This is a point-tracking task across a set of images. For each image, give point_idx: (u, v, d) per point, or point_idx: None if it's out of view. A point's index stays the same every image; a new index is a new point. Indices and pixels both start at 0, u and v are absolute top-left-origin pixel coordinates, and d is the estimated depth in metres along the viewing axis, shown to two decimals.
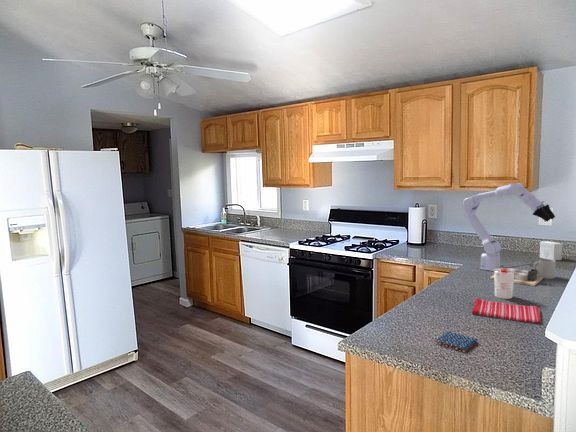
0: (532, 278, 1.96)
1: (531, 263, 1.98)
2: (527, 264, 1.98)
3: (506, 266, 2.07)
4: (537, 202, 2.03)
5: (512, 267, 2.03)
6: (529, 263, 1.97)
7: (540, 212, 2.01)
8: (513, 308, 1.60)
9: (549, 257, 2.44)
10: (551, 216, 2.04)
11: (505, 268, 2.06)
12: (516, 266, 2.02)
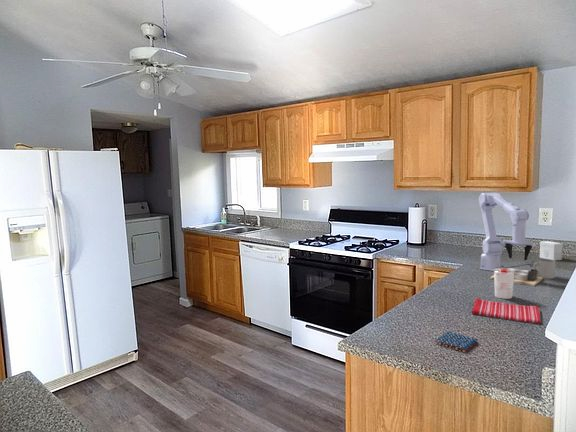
0: (532, 278, 1.96)
1: (531, 263, 1.98)
2: (527, 264, 1.98)
3: (506, 266, 2.07)
4: (513, 239, 2.03)
5: (512, 267, 2.03)
6: (529, 263, 1.97)
7: None
8: (513, 308, 1.60)
9: (549, 257, 2.44)
10: None
11: (505, 268, 2.06)
12: (516, 266, 2.02)
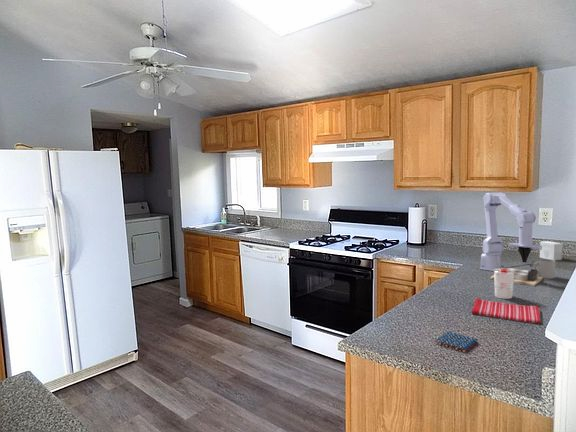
0: (532, 278, 1.96)
1: (531, 263, 1.98)
2: (527, 264, 1.98)
3: (506, 266, 2.07)
4: (519, 242, 1.99)
5: (512, 267, 2.03)
6: (529, 263, 1.97)
7: None
8: (513, 308, 1.60)
9: (549, 257, 2.44)
10: None
11: (505, 268, 2.06)
12: (516, 266, 2.02)
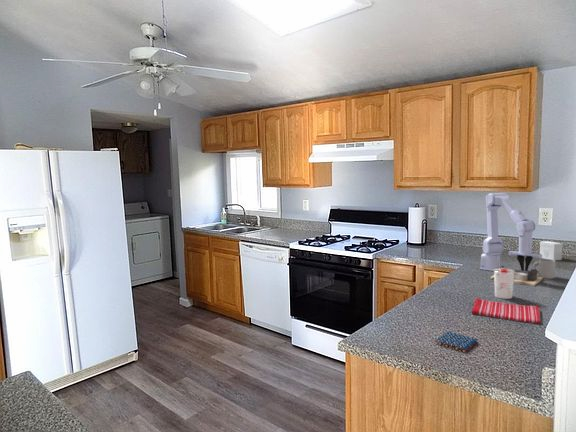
0: (532, 278, 1.96)
1: None
2: None
3: (506, 268, 2.07)
4: (519, 251, 1.99)
5: None
6: None
7: None
8: (513, 308, 1.60)
9: (549, 257, 2.44)
10: None
11: None
12: (517, 271, 2.02)
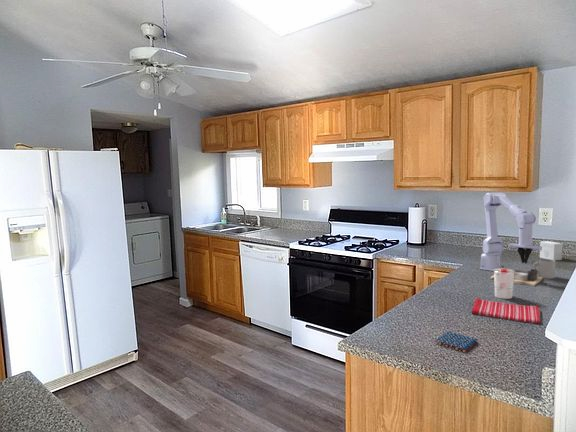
0: (532, 278, 1.96)
1: None
2: None
3: (506, 268, 2.07)
4: (519, 243, 1.99)
5: None
6: None
7: None
8: (513, 308, 1.60)
9: (549, 257, 2.44)
10: None
11: None
12: (517, 271, 2.02)
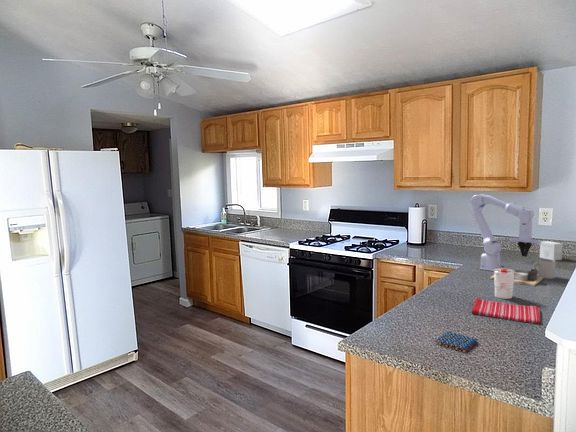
0: (532, 278, 1.96)
1: None
2: None
3: (506, 268, 2.07)
4: (520, 237, 2.10)
5: None
6: None
7: None
8: (513, 308, 1.60)
9: (549, 257, 2.44)
10: None
11: None
12: (517, 271, 2.02)
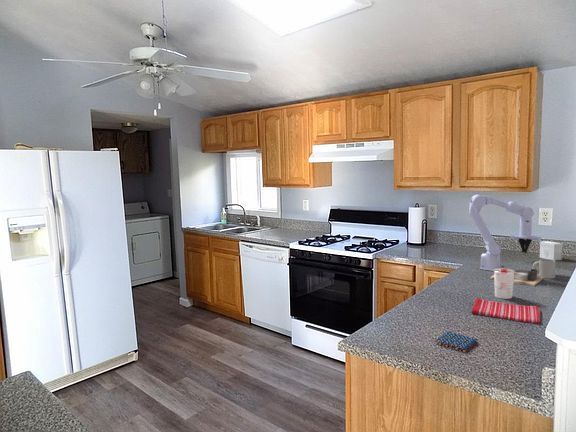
0: (532, 278, 1.96)
1: None
2: None
3: (506, 268, 2.07)
4: (520, 234, 2.18)
5: None
6: None
7: None
8: (513, 308, 1.60)
9: (549, 257, 2.44)
10: None
11: None
12: (517, 271, 2.02)
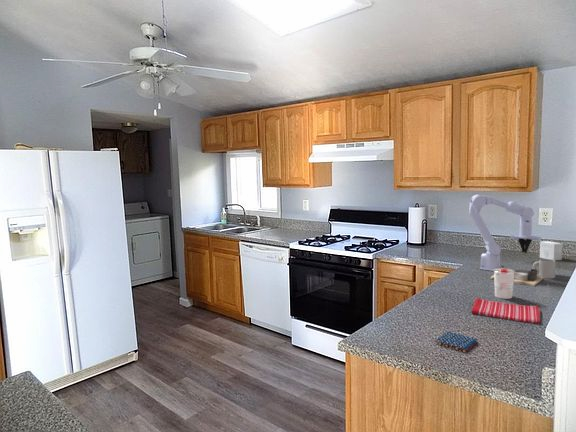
0: (532, 278, 1.96)
1: None
2: None
3: (506, 268, 2.07)
4: (520, 234, 2.18)
5: None
6: None
7: None
8: (513, 308, 1.60)
9: (549, 257, 2.44)
10: None
11: None
12: (517, 271, 2.02)
